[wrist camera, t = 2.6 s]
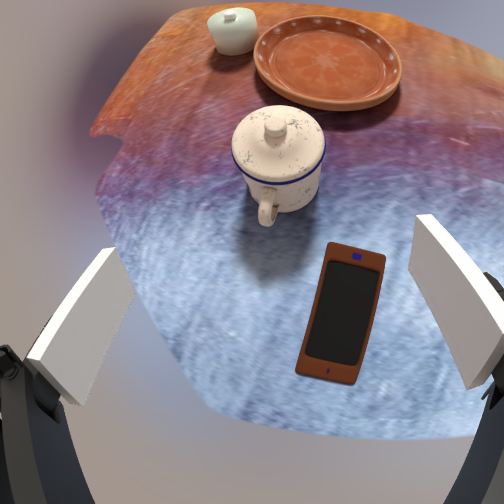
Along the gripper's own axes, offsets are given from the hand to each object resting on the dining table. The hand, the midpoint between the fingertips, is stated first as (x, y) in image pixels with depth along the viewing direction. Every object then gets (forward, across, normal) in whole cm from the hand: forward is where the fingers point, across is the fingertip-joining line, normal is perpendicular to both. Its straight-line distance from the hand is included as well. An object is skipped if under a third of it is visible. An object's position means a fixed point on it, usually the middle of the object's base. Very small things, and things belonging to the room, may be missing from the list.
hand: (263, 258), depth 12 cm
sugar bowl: (+45, -3, +16) cm, 48 cm away
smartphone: (+13, +6, -17) cm, 22 cm away
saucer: (+39, +11, +9) cm, 41 cm away
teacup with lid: (+23, +1, -6) cm, 24 cm away
